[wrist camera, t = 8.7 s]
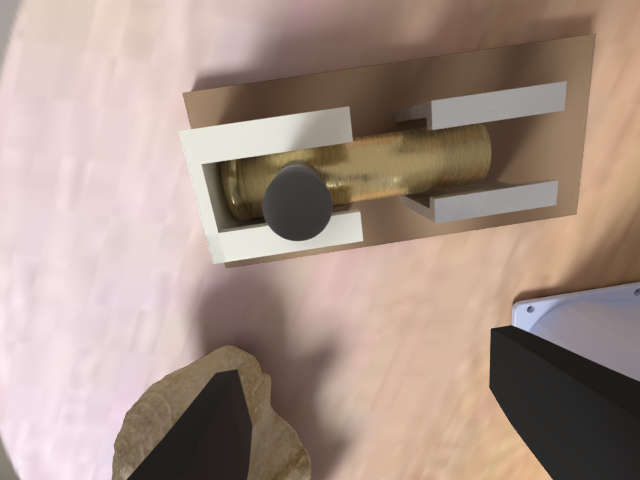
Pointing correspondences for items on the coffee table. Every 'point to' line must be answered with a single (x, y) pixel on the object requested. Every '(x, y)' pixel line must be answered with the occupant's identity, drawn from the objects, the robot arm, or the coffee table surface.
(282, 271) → the coffee table surface
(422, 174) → the brass bolt
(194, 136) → the socket block
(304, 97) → the guide board
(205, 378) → the sculpture
